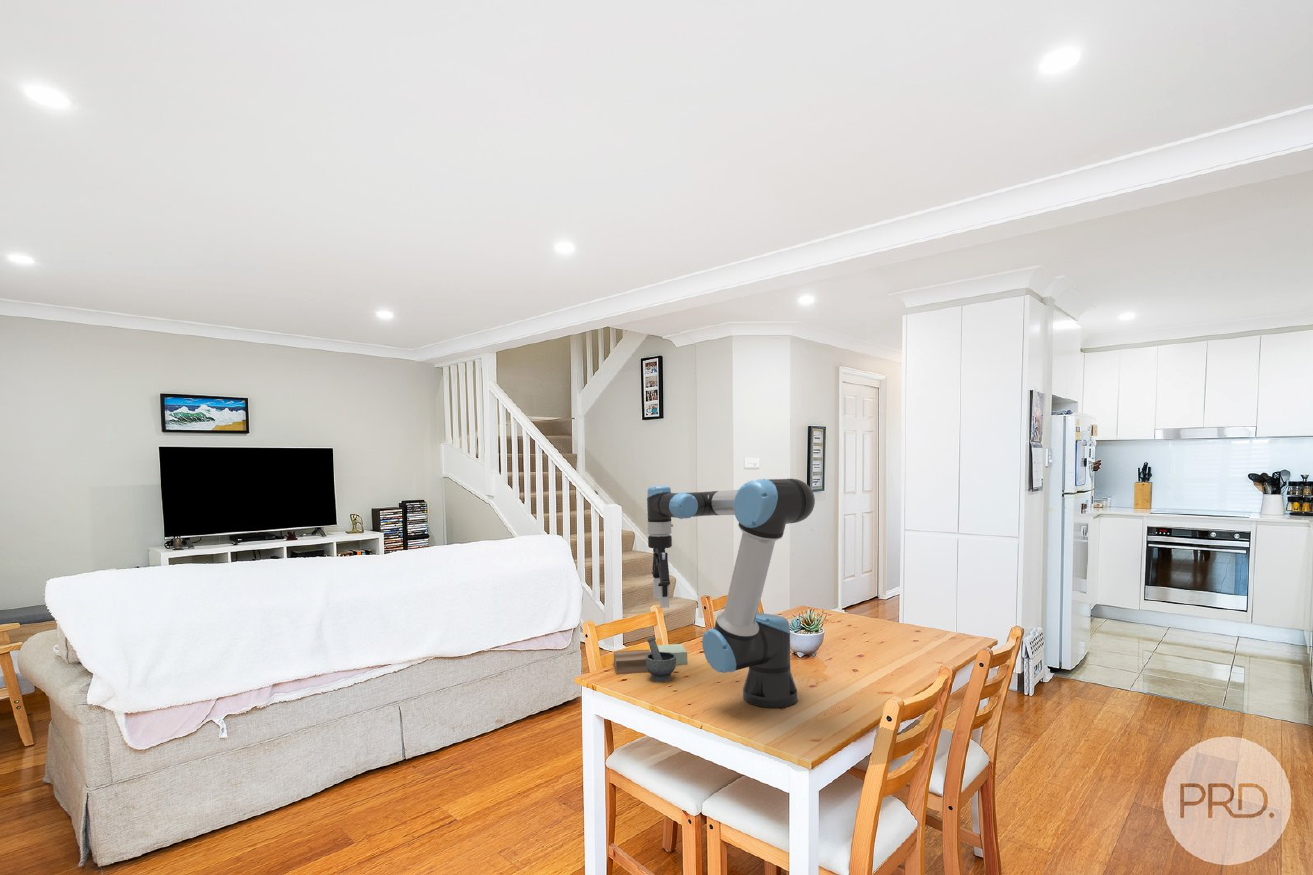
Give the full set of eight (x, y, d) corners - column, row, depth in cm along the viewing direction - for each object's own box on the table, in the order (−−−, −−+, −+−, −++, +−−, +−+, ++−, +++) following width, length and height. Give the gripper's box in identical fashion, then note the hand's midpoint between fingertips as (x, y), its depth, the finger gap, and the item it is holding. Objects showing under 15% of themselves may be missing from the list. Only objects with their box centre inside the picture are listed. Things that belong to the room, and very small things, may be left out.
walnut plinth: (653, 671, 206) (653, 659, 206) (616, 674, 204) (616, 661, 205) (649, 661, 217) (649, 649, 217) (613, 663, 215) (613, 651, 215)
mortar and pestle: (683, 679, 198) (682, 640, 199) (658, 686, 193) (657, 645, 193) (661, 670, 207) (660, 633, 208) (637, 676, 202) (636, 638, 202)
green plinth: (687, 664, 213) (687, 652, 213) (657, 666, 212) (657, 653, 212) (681, 655, 223) (681, 643, 223) (653, 657, 222) (653, 645, 222)
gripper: (678, 538, 192) (680, 610, 191) (665, 530, 217) (666, 594, 216) (653, 539, 191) (655, 612, 190) (643, 531, 215) (644, 595, 214)
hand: (661, 602), depth 203 cm, fingers open, 13 cm apart
